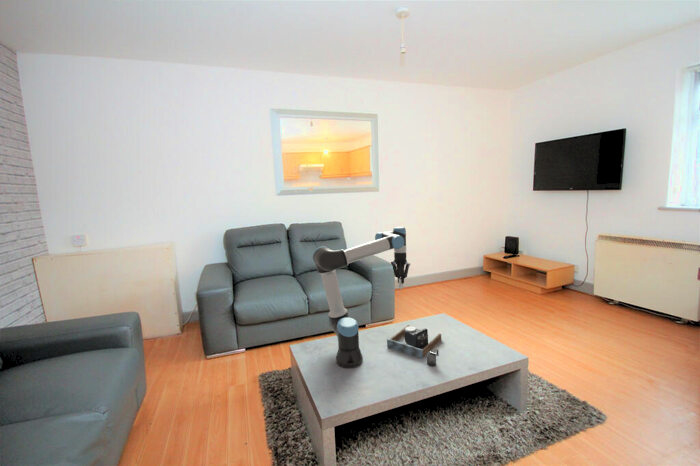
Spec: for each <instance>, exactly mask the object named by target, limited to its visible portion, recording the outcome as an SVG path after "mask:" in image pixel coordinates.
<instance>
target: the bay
mask: <svg viewBox="0 0 700 466" xmlns="http://www.w3.org/2000/svg"><path fill="white" fill-rule="evenodd" d="M409 326H411V325H409V324H408V325H406V326H405V327H404V328H402V329H401V330H400V331H399V332H397V333H395V334H394V335H393V336H392V337H391V338H387V339H386V347H387V348H389V349H392V350H394V351H398V352H400V353H404V354H406V355H407V354H408V355H409V356H412V357H416V358H418V359H424V358H425V357H427V352H429V351H432V350H433V349H434V348H435V347H436V346H437V345H438V344H439V343H440V342H441V341H442V333H438V334H437V335H436V336H435V337H434V338H433V339H432V340H431V341H430V342H428V345H427V346H426V347H424V348H423V349H420V348H416V347H413V346H410V345H407V344H406V343H405V342H404V343H403V342H400V340H401V339H402V338H403V337H405V332H404V330H405V328H406V327H409Z"/></svg>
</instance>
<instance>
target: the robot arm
mask: <svg viewBox="0 0 700 466" xmlns="http://www.w3.org/2000/svg"><path fill="white" fill-rule="evenodd" d="M392 249H393V251H394V252H393V258H394V260H393V261H390V263H391V264H390V265H392V270H393V274H394V277H395V278H396V279H397V284H398V289H400V290H401V289H403V288H404V283H405V279H406V278H407V277H408V274H409V269H410V266H411V263H410V262H408V261H407V231H406V228H405V227H404V226H395V227H393V230H392V231H381V232H376V233H375V236H374V240H372V241H368V242H366V243H363V244H359V245H357V246H354V247H350V248H348V249H342V248H341V249H337V250H334V249H333V250H332V249H331V248H330V247H328V246H319V247H317V248H316V249H315V250H314V251H313V253H312V260H313V262H314V264H315V267H316V271H317V273H318V274H319V275H320V276H321V281H322V283H323V288H324V293H325V296H326V300H327V303H328V308H329V312H328V314H327V315H328V325H329V327H330V328H331V330H332V331H333V332H334V334H335V336H336V337H337V341H338V343H337V345H338V347H337V353H336V357H335V362H336V364H337V365H338V366H339V367H341V368H344V369H354V368H357V367H358V366H360V365H361V364H363V357H364V356H363V354H362V352H361V349H360V339H359V338H360V335H359V328H360V327H359V324H358V321H357V320H356V319H355V318H352V317H350V315H349V312H348V308H345V307H344V306H345V305H344V302H343V301H344V300H343V298H342V297H343V296H342V294H341V289H340V288H341V287H340V286H339V280H338V277H337V272H336V271H337V270H339V269H341V268H345V267H348V266H349V264H352V263H354V262H357V261H361V260H364V259H365V258H369V257H371V256H375V255H378V254H381V253H384V252H387V251H390V250H392Z"/></svg>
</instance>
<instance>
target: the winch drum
mask: <svg viewBox="0 0 700 466" xmlns="http://www.w3.org/2000/svg"><path fill="white" fill-rule="evenodd" d="M439 355H440V354H439V349H436V352H435V351H432V350H431V351H429V352H427V355H426V365H427V366H428V367H436V366H437V357H439Z"/></svg>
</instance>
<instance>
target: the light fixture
mask: <svg viewBox="0 0 700 466" xmlns="http://www.w3.org/2000/svg"><path fill="white" fill-rule="evenodd" d="M405 327H406V326H405ZM405 327H404V328H405ZM404 332H405V335H404V343H405V344H407V345H410V346H413V347H416V348H420V349H423V348H424V347H426V346H427V345H428V344H429V333H428V329H427V328H422V329H418V328H416V327H415V326H411V325H410V326H409V327H406V328H405V330H404Z"/></svg>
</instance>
